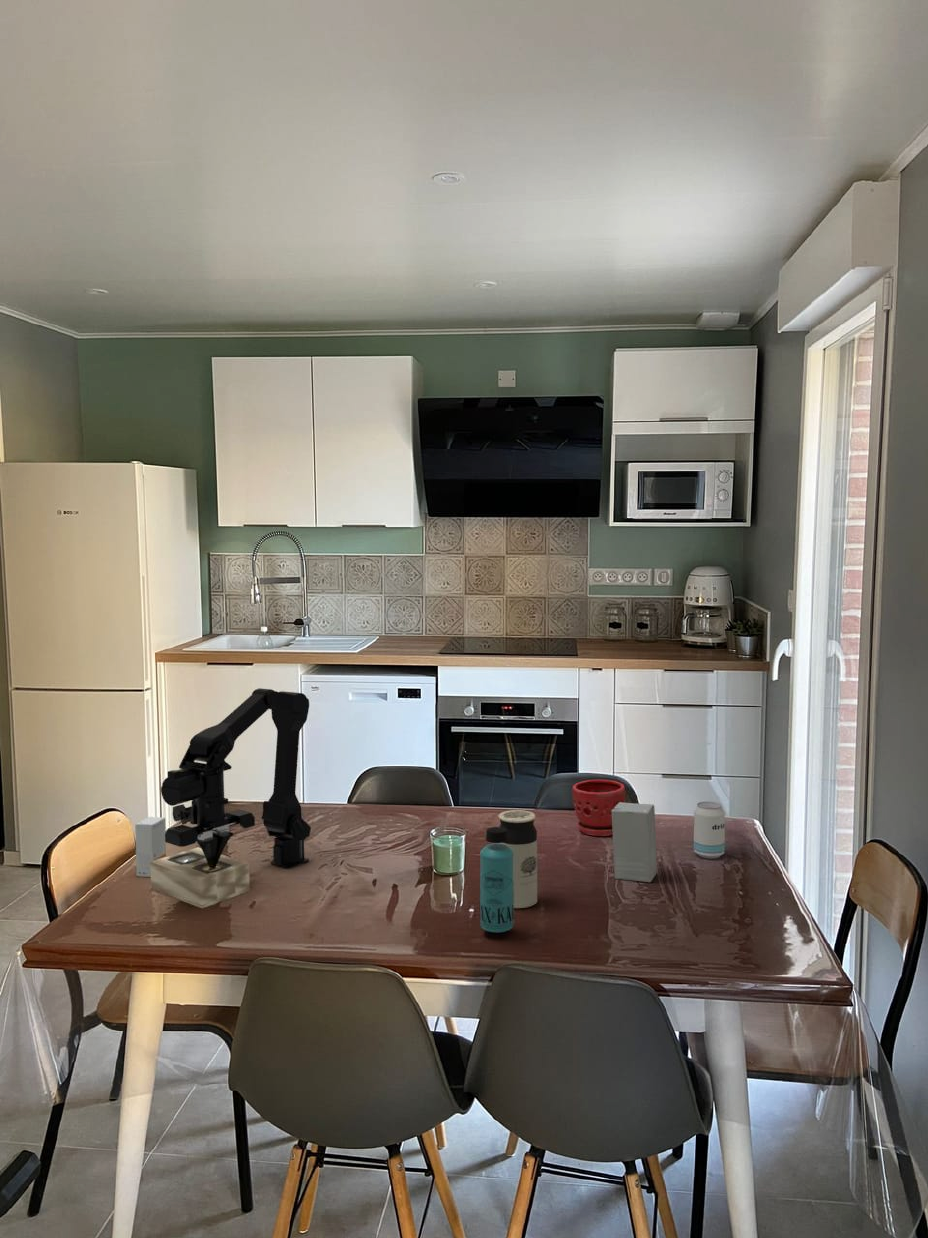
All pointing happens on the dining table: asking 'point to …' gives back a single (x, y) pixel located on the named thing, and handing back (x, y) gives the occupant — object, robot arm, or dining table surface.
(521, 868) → the travel mug
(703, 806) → the beverage can
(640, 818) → the skincare box
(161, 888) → the collar block
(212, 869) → the brass peg
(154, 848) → the skincare box
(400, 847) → the dining table surface
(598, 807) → the plant pot
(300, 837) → the robot arm
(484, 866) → the beverage bottle
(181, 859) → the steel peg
